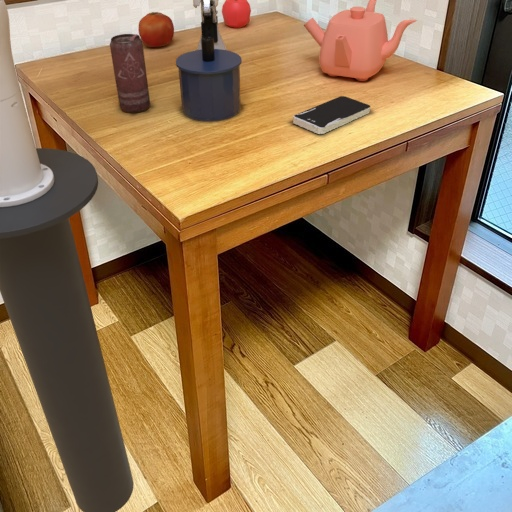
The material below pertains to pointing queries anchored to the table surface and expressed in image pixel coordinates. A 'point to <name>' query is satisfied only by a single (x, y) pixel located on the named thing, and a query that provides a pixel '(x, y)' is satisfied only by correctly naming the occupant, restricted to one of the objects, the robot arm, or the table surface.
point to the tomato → (156, 29)
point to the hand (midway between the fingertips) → (210, 38)
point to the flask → (220, 42)
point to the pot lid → (208, 59)
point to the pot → (210, 95)
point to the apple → (236, 13)
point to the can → (130, 73)
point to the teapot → (355, 42)
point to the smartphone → (331, 114)
